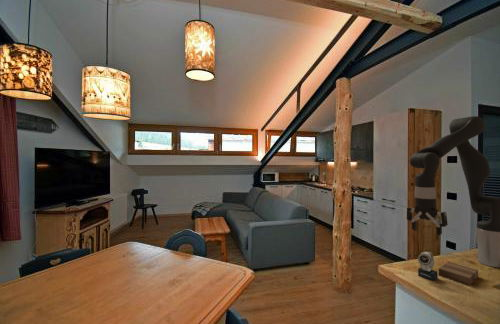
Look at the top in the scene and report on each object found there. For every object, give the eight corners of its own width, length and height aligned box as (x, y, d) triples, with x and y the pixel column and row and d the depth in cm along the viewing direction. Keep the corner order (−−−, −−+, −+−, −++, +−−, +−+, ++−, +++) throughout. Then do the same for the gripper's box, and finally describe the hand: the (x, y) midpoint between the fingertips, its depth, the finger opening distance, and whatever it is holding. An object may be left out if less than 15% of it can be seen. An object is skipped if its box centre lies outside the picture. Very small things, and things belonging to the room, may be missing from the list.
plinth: (448, 267, 104) (448, 261, 104) (478, 276, 95) (477, 270, 95) (438, 275, 98) (438, 268, 98) (469, 285, 89) (469, 278, 89)
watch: (416, 277, 97) (415, 252, 97) (424, 272, 101) (423, 248, 101) (431, 282, 92) (430, 257, 92) (439, 277, 96) (438, 252, 96)
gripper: (448, 197, 92) (450, 235, 92) (410, 194, 104) (411, 227, 104) (442, 199, 88) (443, 239, 88) (403, 195, 101) (404, 230, 100)
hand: (426, 232), depth 96 cm, fingers open, 8 cm apart
